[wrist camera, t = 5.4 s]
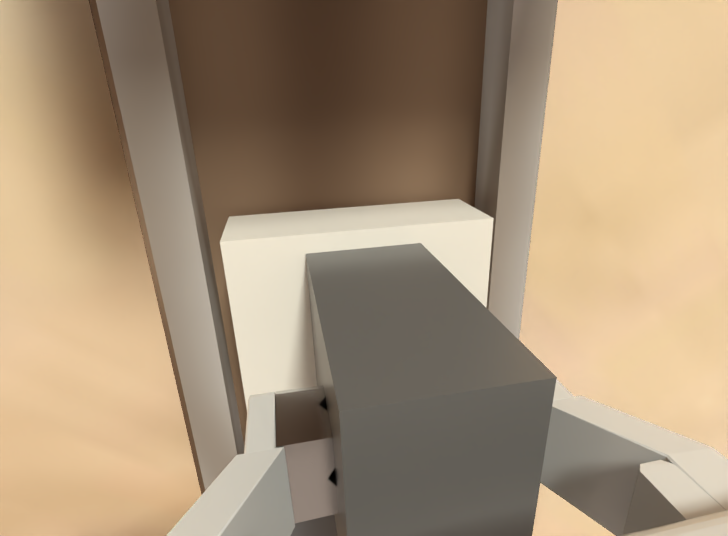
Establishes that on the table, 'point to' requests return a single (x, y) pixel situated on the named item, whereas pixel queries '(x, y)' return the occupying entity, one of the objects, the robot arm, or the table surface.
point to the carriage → (396, 361)
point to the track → (314, 146)
